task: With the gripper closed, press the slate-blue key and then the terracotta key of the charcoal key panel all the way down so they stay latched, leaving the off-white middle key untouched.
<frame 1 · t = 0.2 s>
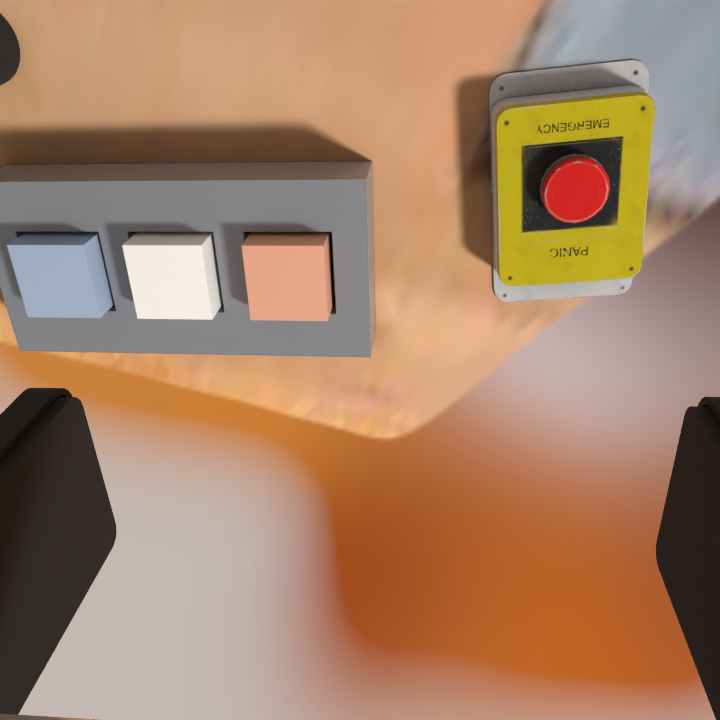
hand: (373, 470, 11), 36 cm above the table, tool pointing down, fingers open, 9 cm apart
slate blue key: (65, 273, 45), point 5 cm above the table, slide at 0.0 cm
key panel: (197, 248, 49), on the table
terracotta key: (290, 275, 44), point 5 cm above the table, slide at 0.0 cm
off white key: (176, 274, 45), point 5 cm above the table, slide at 0.0 cm
emergency button: (562, 188, 45), on the table
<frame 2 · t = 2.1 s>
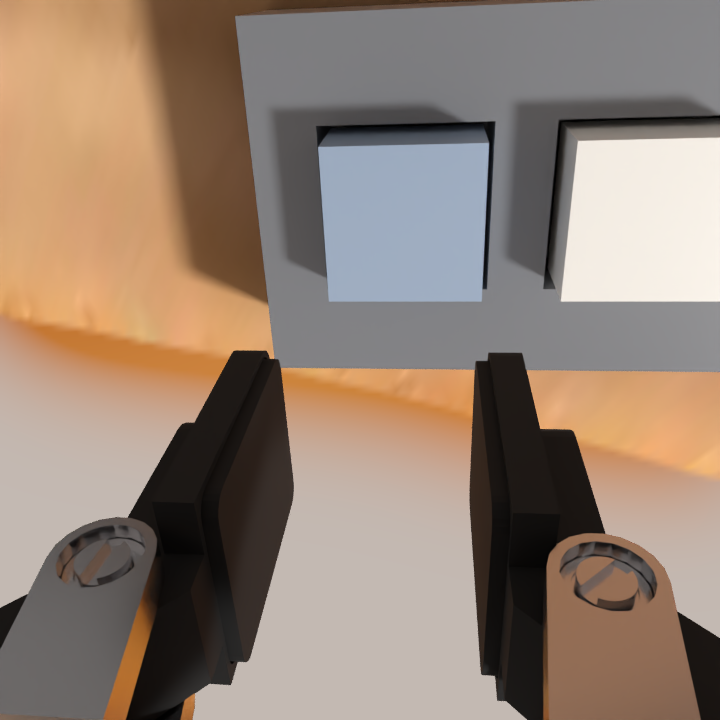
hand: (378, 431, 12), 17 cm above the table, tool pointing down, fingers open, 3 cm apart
slate blue key: (405, 213, 23), point 5 cm above the table, slide at 0.0 cm
key panel: (608, 173, 26), on the table
off white key: (641, 210, 22), point 5 cm above the table, slide at 0.0 cm
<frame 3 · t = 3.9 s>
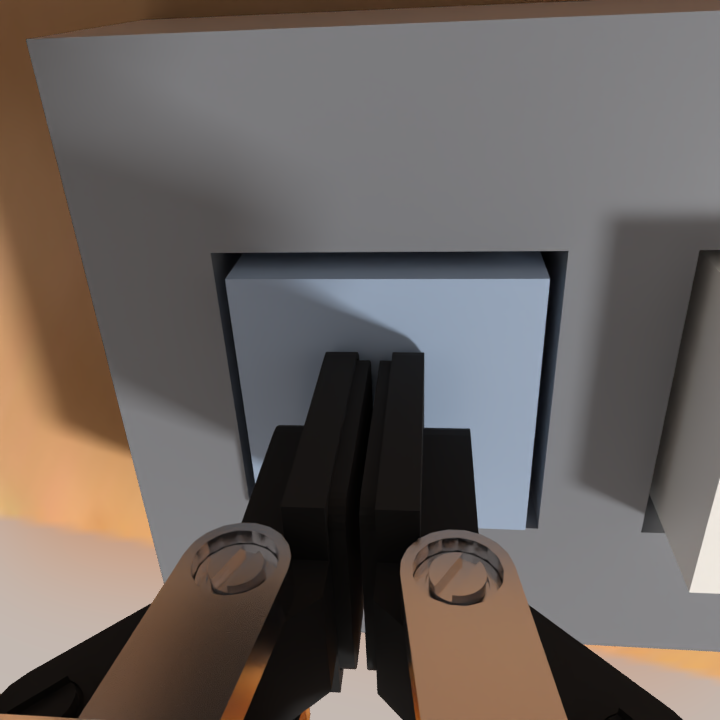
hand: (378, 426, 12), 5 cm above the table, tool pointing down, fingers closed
slate blue key: (392, 370, 13), point 3 cm above the table, slide at 1.3 cm, touching gripper
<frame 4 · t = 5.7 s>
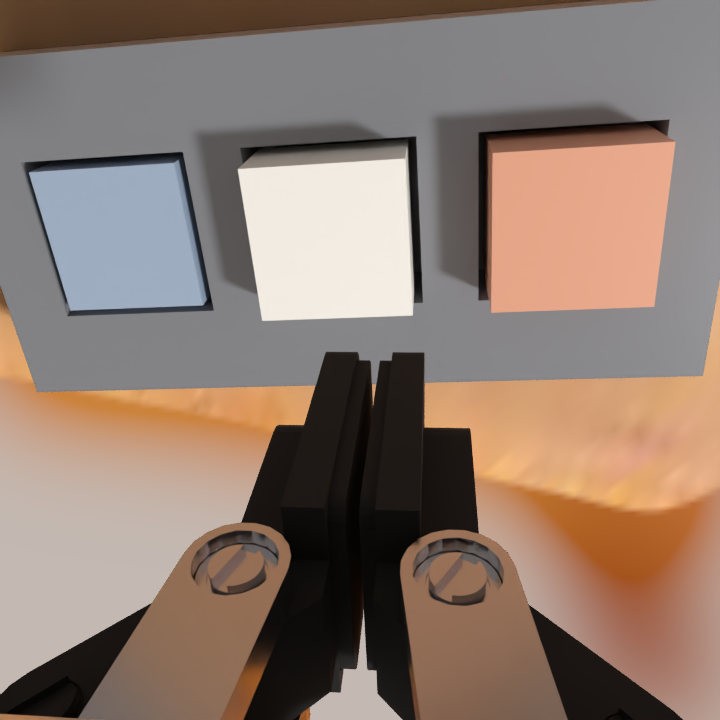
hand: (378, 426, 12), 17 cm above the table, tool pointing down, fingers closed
slate blue key: (135, 228, 25), point 3 cm above the table, slide at 1.5 cm
key panel: (349, 193, 27), on the table
terracotta key: (568, 218, 22), point 5 cm above the table, slide at 0.0 cm
off white key: (334, 230, 23), point 5 cm above the table, slide at 0.0 cm
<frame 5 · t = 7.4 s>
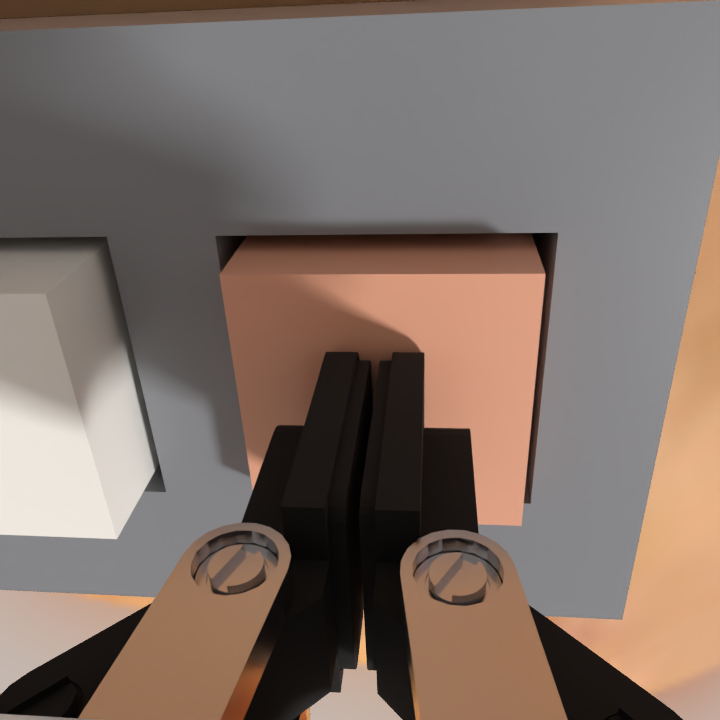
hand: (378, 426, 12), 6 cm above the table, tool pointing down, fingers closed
key panel: (99, 284, 17), on the table
terracotta key: (388, 366, 13), point 4 cm above the table, slide at 0.7 cm, touching gripper
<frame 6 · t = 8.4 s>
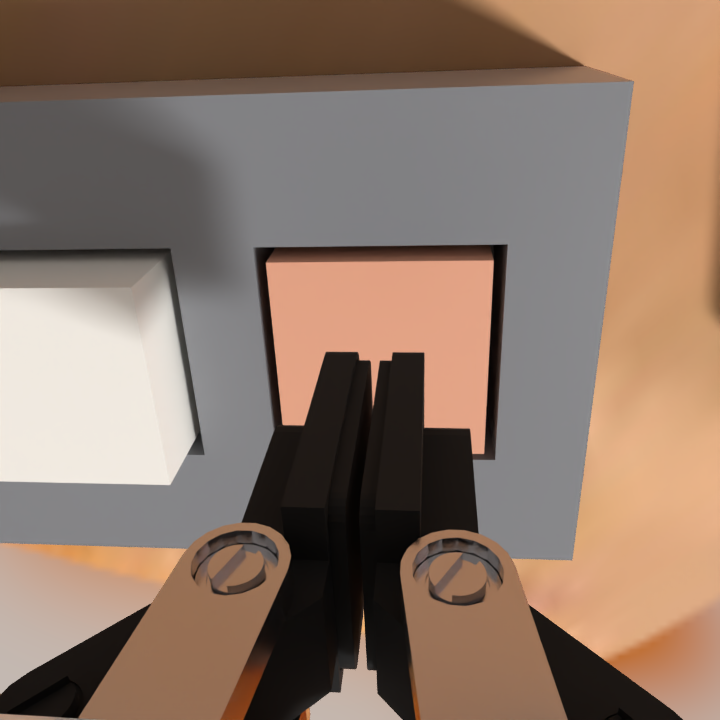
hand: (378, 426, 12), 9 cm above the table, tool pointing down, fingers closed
key panel: (144, 293, 21), on the table
terracotta key: (384, 336, 18), point 3 cm above the table, slide at 1.5 cm
off white key: (75, 362, 17), point 5 cm above the table, slide at 0.0 cm
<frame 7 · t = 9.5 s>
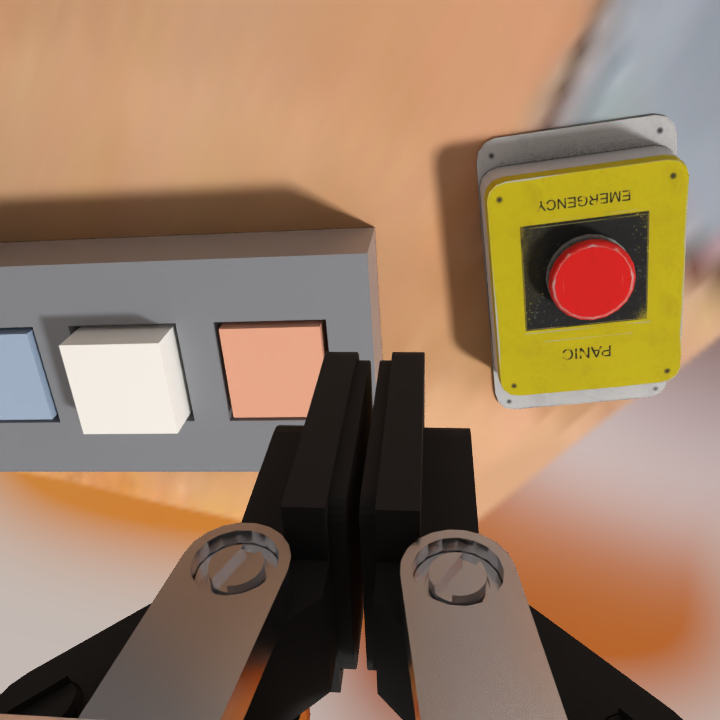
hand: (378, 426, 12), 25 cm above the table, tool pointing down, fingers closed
slate blue key: (10, 366, 37), point 3 cm above the table, slide at 1.5 cm
key panel: (163, 339, 39), on the table
terracotta key: (280, 360, 36), point 3 cm above the table, slide at 1.5 cm
off white key: (131, 376, 35), point 5 cm above the table, slide at 0.0 cm
emergency button: (574, 272, 36), on the table
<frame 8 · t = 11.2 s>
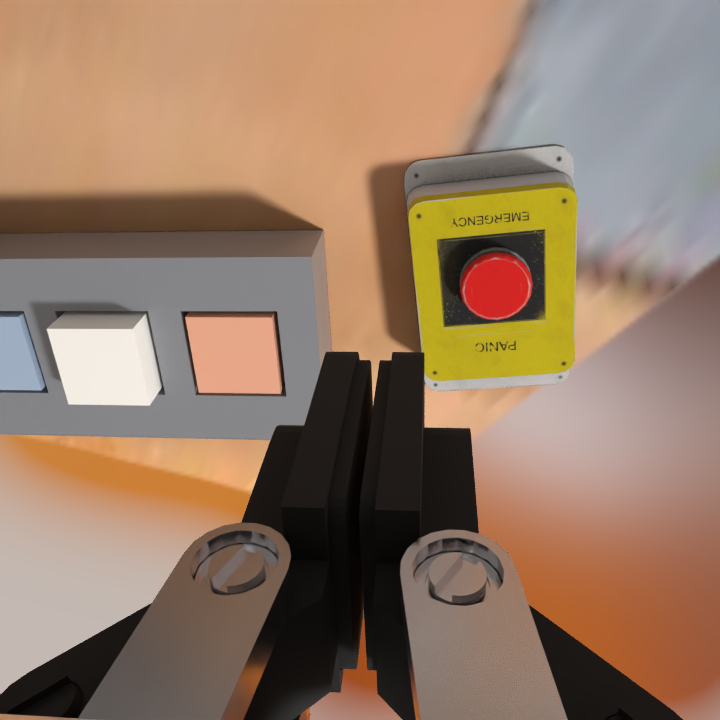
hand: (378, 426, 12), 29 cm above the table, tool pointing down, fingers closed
slate blue key: (4, 343, 43), point 3 cm above the table, slide at 1.5 cm
key panel: (139, 321, 45), on the table
terracotta key: (240, 344, 41), point 3 cm above the table, slide at 1.5 cm
off white key: (110, 355, 41), point 5 cm above the table, slide at 0.0 cm
emergency button: (490, 275, 42), on the table
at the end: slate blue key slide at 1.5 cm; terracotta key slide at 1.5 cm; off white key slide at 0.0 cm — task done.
